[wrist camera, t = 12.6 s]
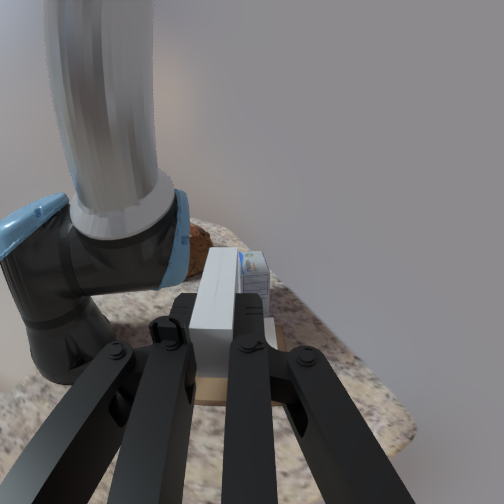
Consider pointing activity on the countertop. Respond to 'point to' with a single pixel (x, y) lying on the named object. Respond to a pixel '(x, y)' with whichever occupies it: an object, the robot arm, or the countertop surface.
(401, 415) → the countertop surface
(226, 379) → the light brown wooden board
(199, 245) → the bread
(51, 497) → the robot arm
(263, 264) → the medicine box
